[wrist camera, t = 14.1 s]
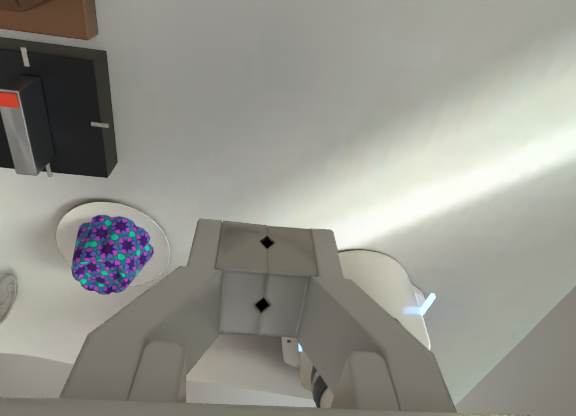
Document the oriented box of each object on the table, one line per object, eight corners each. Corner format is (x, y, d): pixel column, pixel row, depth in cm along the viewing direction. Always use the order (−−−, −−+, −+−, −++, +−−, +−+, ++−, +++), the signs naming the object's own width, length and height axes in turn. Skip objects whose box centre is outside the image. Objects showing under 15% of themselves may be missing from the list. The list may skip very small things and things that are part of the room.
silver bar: (55, 156, 36) (35, 177, 33) (36, 154, 36) (14, 175, 33) (40, 76, 32) (16, 92, 29) (18, 73, 32) (-8, 89, 29)
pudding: (146, 187, 42) (132, 217, 37) (186, 272, 48) (178, 306, 44) (36, 210, 42) (10, 241, 38) (90, 289, 49) (73, 324, 45)
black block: (124, 166, 40) (114, 182, 37) (2, 154, 39) (-17, 170, 36) (113, 47, 34) (100, 57, 31) (-33, 28, 33) (-59, 37, 30)
